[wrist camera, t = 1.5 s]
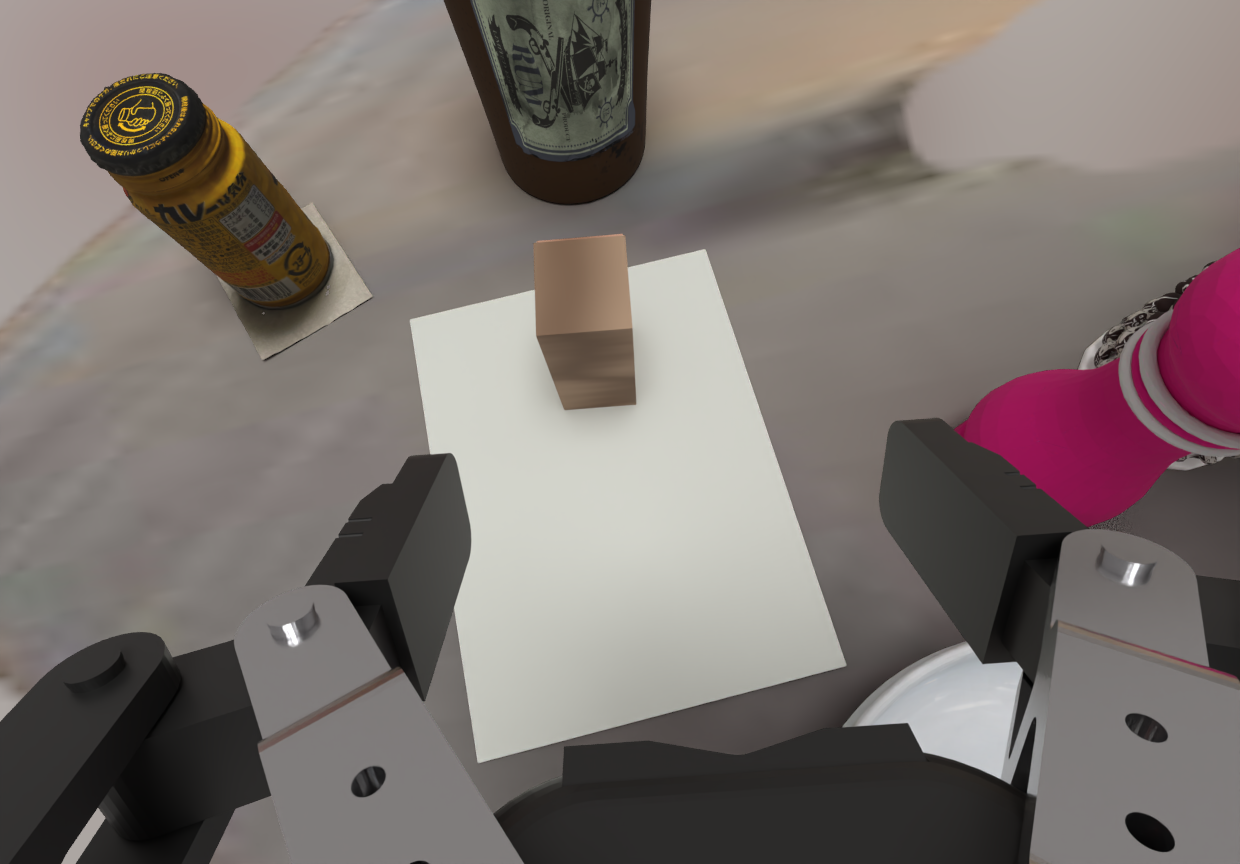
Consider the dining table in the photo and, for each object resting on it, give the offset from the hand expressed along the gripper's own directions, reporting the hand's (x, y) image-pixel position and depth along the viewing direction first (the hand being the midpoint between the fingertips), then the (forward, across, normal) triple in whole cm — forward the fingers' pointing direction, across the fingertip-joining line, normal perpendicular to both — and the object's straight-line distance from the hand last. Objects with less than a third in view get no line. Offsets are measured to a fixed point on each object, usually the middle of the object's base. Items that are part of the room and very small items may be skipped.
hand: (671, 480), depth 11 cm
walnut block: (+23, +2, +6) cm, 24 cm away
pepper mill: (+18, -18, +12) cm, 28 cm away
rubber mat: (+19, +2, +11) cm, 22 cm away
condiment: (+29, +21, +1) cm, 36 cm away
